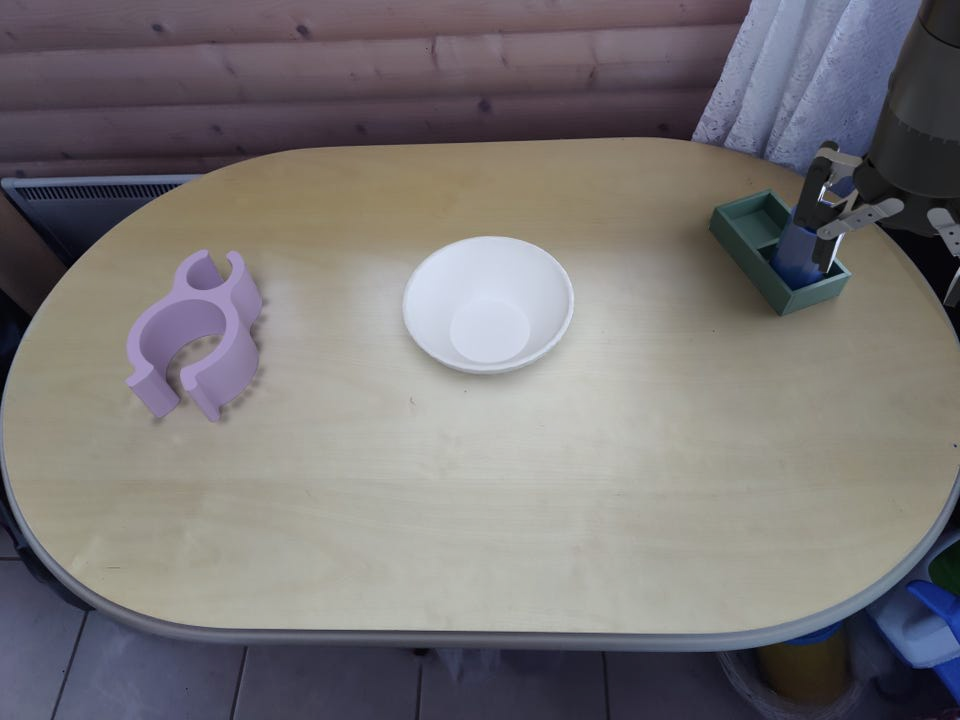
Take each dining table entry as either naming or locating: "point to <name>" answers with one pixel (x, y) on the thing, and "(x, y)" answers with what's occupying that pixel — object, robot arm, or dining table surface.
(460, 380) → the dining table surface
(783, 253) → the cup
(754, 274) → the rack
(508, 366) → the bowl
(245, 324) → the clip
